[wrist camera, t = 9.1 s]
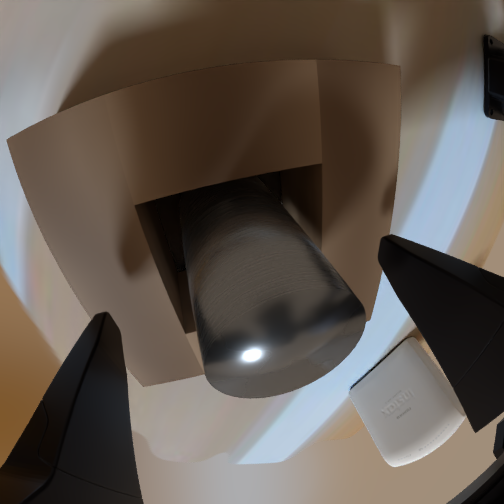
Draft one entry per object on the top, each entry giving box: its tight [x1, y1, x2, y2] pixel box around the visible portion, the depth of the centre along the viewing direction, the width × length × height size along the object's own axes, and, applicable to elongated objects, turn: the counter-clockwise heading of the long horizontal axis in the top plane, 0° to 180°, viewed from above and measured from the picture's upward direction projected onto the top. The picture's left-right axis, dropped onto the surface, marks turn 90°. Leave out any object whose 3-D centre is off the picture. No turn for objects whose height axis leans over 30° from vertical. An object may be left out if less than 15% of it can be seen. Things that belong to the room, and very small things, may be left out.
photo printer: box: [349, 337, 466, 467], centre depth 23 cm, size 10×4×12 cm, turn 145°
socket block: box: [7, 59, 401, 387], centre depth 11 cm, size 12×12×4 cm
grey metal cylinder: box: [179, 175, 366, 398], centre depth 9 cm, size 4×4×8 cm
